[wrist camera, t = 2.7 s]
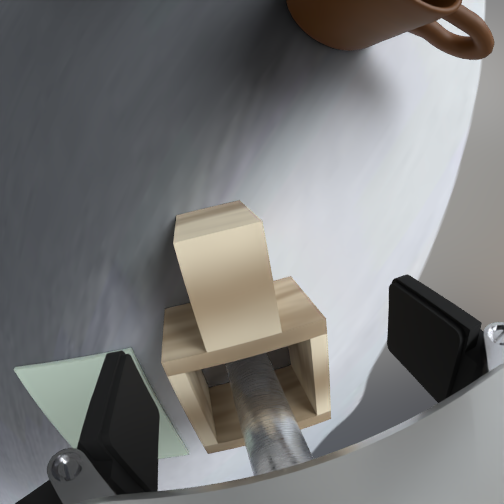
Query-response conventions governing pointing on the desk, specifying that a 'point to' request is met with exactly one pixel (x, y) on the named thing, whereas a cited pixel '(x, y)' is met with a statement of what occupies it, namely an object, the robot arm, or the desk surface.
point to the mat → (84, 397)
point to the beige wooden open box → (239, 324)
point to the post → (265, 416)
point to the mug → (392, 24)
